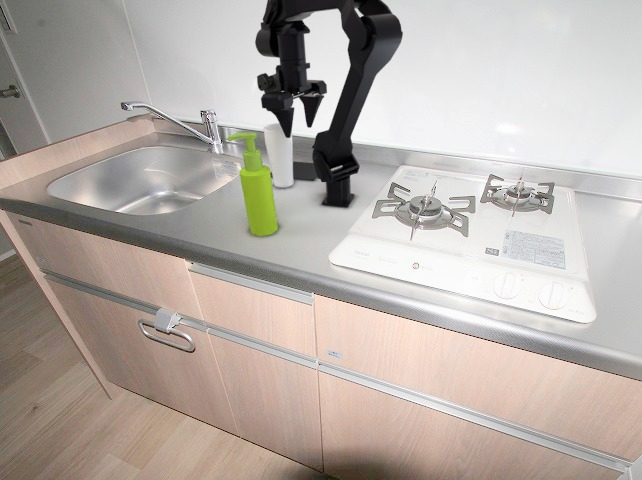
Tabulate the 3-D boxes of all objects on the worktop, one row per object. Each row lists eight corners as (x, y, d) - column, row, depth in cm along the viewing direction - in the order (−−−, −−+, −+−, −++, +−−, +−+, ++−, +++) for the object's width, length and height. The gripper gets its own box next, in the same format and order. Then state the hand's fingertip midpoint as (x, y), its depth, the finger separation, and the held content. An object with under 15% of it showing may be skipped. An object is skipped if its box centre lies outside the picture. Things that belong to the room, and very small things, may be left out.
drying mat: (313, 181, 98) (313, 179, 97) (266, 177, 102) (266, 175, 101) (327, 165, 107) (327, 163, 106) (284, 162, 111) (284, 160, 110)
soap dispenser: (247, 223, 80) (229, 130, 68) (278, 221, 80) (265, 127, 68) (244, 237, 75) (224, 139, 64) (277, 234, 75) (263, 137, 64)
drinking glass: (267, 189, 95) (258, 130, 86) (276, 179, 100) (269, 122, 91) (291, 190, 93) (285, 130, 84) (300, 180, 98) (294, 122, 89)
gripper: (287, 53, 89) (293, 120, 98) (236, 64, 76) (248, 139, 85) (326, 53, 84) (329, 123, 93) (278, 65, 71) (287, 145, 80)
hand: (299, 132), depth 88 cm, fingers open, 9 cm apart
